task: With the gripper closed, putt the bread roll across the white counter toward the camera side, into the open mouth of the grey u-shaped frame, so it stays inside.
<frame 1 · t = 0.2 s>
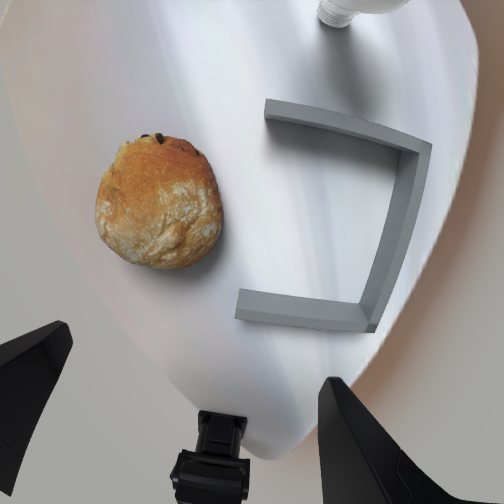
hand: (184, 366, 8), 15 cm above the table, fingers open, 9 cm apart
lightbulb: (331, 18, 14), on the table
grey u-shaped frame: (302, 217, 21), on the table
bread roll: (165, 196, 21), on the table
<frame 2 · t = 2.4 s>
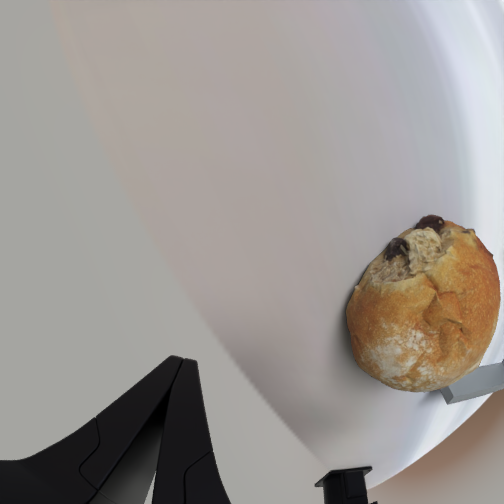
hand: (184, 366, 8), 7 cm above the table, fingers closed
bread roll: (414, 291, 14), on the table
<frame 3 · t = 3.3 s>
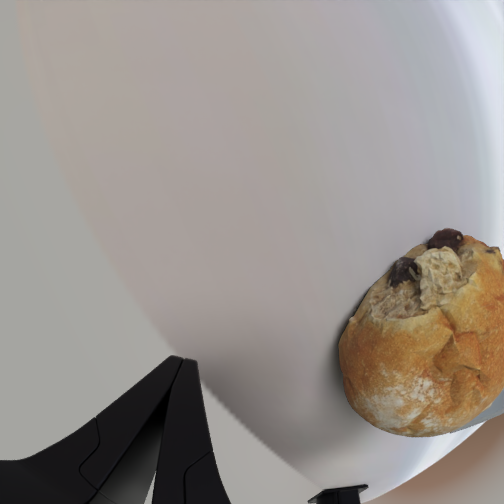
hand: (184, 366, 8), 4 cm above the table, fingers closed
bread roll: (422, 316, 12), on the table
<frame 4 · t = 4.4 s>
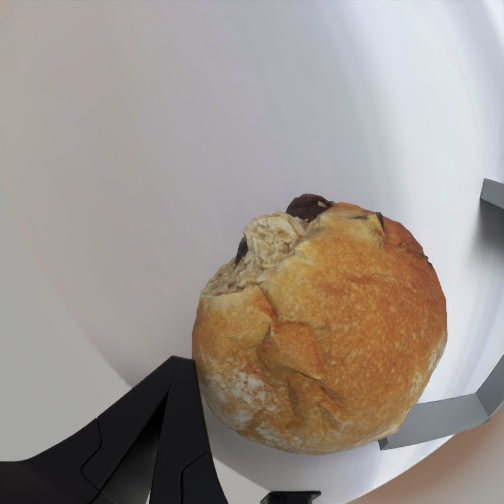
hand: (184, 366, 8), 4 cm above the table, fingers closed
grey u-shaped frame: (474, 327, 11), on the table
bread roll: (315, 307, 12), on the table, touching gripper
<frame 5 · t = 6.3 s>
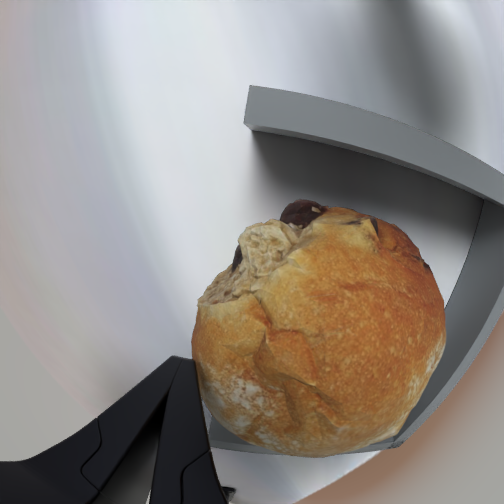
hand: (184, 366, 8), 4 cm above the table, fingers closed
grey u-shaped frame: (317, 316, 11), on the table
bread roll: (314, 311, 12), on the table, touching gripper
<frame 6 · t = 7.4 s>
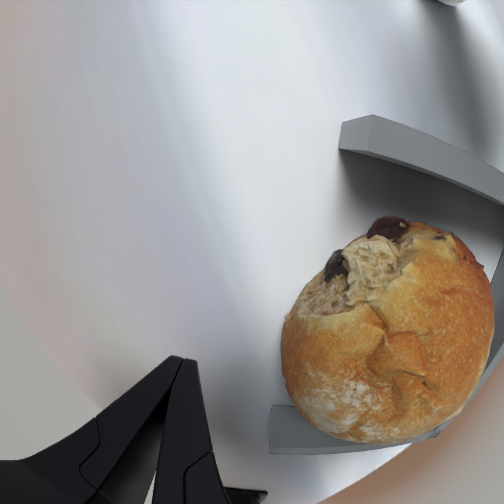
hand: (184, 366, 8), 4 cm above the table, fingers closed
grey u-shaped frame: (381, 321, 12), on the table
bread roll: (380, 313, 12), on the table
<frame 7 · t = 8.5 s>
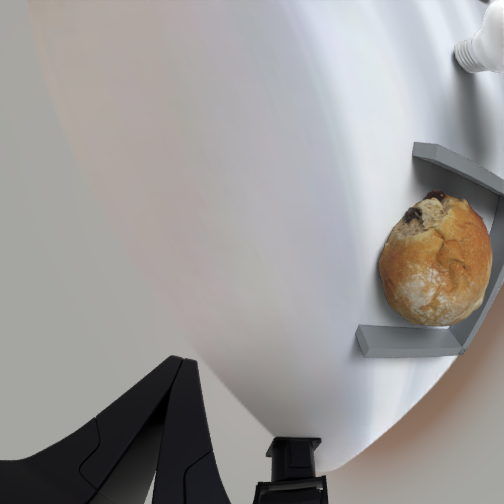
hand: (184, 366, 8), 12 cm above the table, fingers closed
lightbulb: (460, 59, 12), on the table
grey u-shaped frame: (428, 256, 18), on the table
bread roll: (426, 251, 18), on the table
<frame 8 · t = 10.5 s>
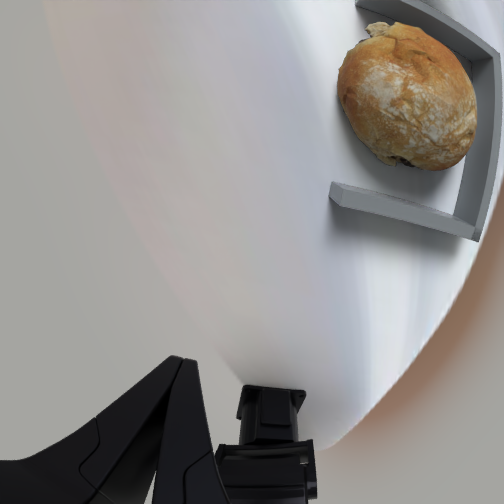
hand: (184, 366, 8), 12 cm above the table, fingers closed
grey u-shaped frame: (400, 100, 14), on the table
bread roll: (398, 96, 14), on the table
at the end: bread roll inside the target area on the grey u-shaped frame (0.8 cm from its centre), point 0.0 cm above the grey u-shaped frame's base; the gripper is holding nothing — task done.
